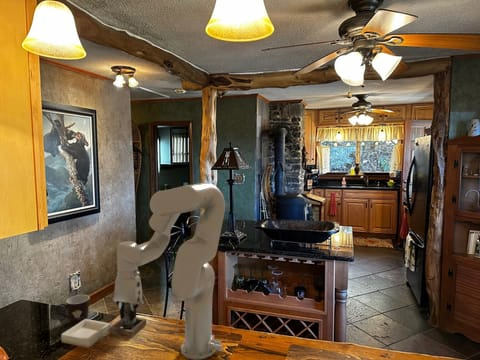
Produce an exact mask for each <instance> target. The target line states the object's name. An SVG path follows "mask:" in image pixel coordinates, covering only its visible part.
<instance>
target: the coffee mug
mask: <svg viewBox="0 0 480 360" xmlns="http://www.w3.org/2000/svg"><path fill="white" fill-rule="evenodd" d="M90 298H91V297H90V295H88V294H77V295H73V296H70V297H69V298H67V299H66V304H65V303H61V304H58V305H57V306H56V307H55V308H56V310H55V311H56V313H57V314H59V315H60V316H62V317H65V318H67V319H68V322H69V326H70V327H71V328H72V327H74V326H75V325H77V324H78V323H80V322H81V321H83V320H84V319H89V318H88V316H89V308H90V307H89V306H90V300H91V299H90ZM61 306H63V307H65V308H66V311H67V314H64V313H61V312H60V311H59V310H58V309H59V307H61Z"/></svg>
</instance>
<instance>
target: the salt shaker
mask: <svg viewBox="0 0 480 360" xmlns="http://www.w3.org/2000/svg"><path fill="white" fill-rule="evenodd" d="M130 311H131V306H130V303H125V304H124V312H123V313H124V319H122V320H121V322H120V323H121V325H122V326H121V328H122V329H128V330H132V329H133V328H134V327H135V321H136V319H133V320H132V321H130Z"/></svg>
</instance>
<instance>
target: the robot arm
mask: <svg viewBox="0 0 480 360" xmlns="http://www.w3.org/2000/svg"><path fill="white" fill-rule="evenodd" d="M149 208H150V210H151V212H152V213H153V214H152V215H151V216H150V219H149V220H148V224H149V226H150V228H151V229H152V230H153V231H155V232H154V234H153V235H152V237H151V239H150V240H149V241H146V242H143V243H141V244H137V242H135V241H131V240H126V241H121V242H119V243H118V244H117V246H116V247H117V248H116V255H117V257H116V258H117V259H116V263H117V264H116V265H117V272H116V273H117V276H116V278H115V283H114V292H113V293H114V295H113V297H112V301H113V302H114V303H116V305H117V306H118V309H119V317H120V318H119V320H120V319H123V318H124V313H123V312H124V304H125V303H130V306H131V311H130V321H132V320H133V319H135V318H137V308H138V307H140V306H142V305H144V300H143V287H142V281H141V276H140V275H141V272H140V271H139V269H138V267H141V266H144V265H145V264H146V265H147V264H149V263H150V262H153V261H154V260H157V259H158V258H160V257H161V256H162V254H163V253H164V252H165V250H166V248H167V247H168V245H169V243H170V240H171V230H172V228H173V227H174V225H175V223H176V222H177V220H178V218H179V216H180V215H181V214H183V213H188V212H193V211H197V210H199V209H202V210H201V213H200V214H199V217H198V219H197V222H196V228H195V232H194V235H193V237H192V238H190V239H188V240H186V241H184V242H183V243H182V244H181V245H180V246H179V248H178V250H177V253H176V256H175V260H174V261H175V262H174V266H173V271H172V276H171V290H172V293H173V295H174V297H176V298H177V299H178V300H180V301H183V302H184V301H185V302H184V313H185V314H184V324H185V325H184V341H183V343H182V344H181V345H180V353H181V355H182V356H183V357H185V358H187V359H190V360H204V359H207V358H209V357H211V356H213V355H214V354H215V352H216V351H218V352H222V351H223V344H222V341H220V340H216V339H215V334H213V293H214V286H215V281H216V279H215V278H216V277H215V275H216V274H215V271H214V268H213V266H212V265H211V264H210V263H209V262H210V261H212V260H213V259H214V258H215V257H216V255H217V251H218V248H219V243H220V242H219V241H220V239H221V238H220V237H221V232H222V226H223V222H224V218H225V212H226V200H225V197H224V194H223V193H222V191H221V190H220V188H218V186H216V185H214V184H213V183H210V182H209V183H208V182H199V183H195V184H187V185H183V186H178V187H174V188H171V189H170V188H169V189H165V190H159V191H156V192H155V193H154V194H152V196H151V197H150V201H149Z"/></svg>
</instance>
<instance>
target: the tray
mask: <svg viewBox="0 0 480 360" xmlns="http://www.w3.org/2000/svg"><path fill="white" fill-rule="evenodd" d="M111 326H112V324H111V323H109V322H105V321H99V320H94V319H93V320H92V319H89V318H87V319H84V320H83V321H81V322H80V323H78V324H77V325H75V326H74V327H72V326H71V327H70V328H69V329H67V330H66V331H64V332H62V333H61V337H60V338H61V343H63V344H69V345H74V346H78V347H83V348H87V349H88V348H90V347H92V346H93V345H94V344H96V343H97V342H99V341H100V340H101V339H102V338H103V337H105V336H106V335H107V334H108V333H109V328H110V327H111ZM105 334H106V335H105ZM104 335H105V336H104ZM100 338H101V339H100Z"/></svg>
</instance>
